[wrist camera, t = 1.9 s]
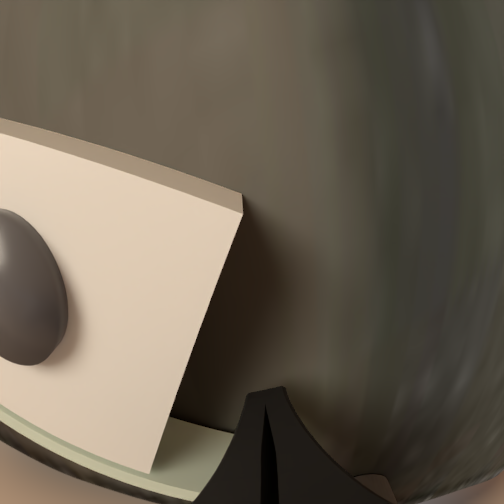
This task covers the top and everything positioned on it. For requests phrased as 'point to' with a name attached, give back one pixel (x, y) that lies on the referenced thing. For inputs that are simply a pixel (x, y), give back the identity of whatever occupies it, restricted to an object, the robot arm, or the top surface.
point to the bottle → (378, 486)
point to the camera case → (102, 287)
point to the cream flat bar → (165, 462)
